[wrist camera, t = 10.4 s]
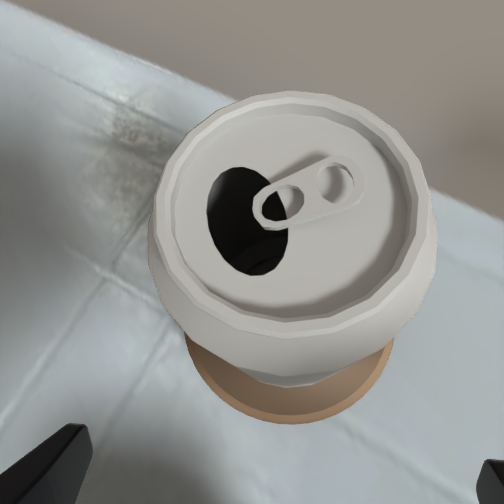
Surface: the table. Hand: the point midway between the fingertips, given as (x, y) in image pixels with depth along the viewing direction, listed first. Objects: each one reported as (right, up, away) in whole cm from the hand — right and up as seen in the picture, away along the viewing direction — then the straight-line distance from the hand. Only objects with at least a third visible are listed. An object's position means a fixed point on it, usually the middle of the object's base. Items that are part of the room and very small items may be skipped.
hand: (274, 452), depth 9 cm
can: (+1, +1, +11) cm, 11 cm away
